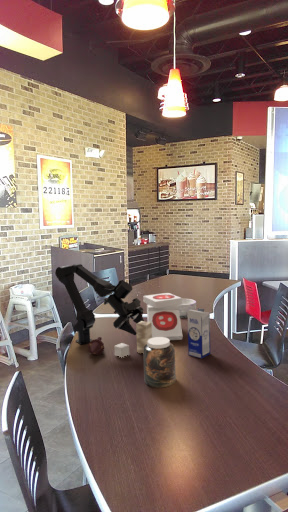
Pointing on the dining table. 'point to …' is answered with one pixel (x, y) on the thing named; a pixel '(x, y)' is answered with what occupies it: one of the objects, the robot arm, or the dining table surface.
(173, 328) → the pizza boxes
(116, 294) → the robot arm
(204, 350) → the milk carton
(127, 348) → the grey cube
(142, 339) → the birch block
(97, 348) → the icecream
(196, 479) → the dining table surface
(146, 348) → the jar
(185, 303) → the paper bowls
